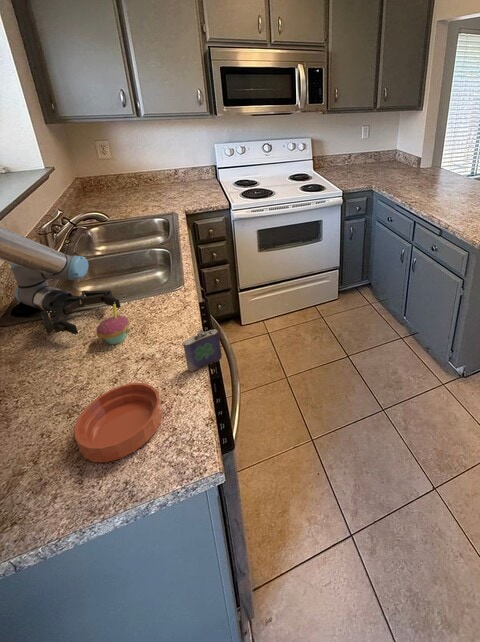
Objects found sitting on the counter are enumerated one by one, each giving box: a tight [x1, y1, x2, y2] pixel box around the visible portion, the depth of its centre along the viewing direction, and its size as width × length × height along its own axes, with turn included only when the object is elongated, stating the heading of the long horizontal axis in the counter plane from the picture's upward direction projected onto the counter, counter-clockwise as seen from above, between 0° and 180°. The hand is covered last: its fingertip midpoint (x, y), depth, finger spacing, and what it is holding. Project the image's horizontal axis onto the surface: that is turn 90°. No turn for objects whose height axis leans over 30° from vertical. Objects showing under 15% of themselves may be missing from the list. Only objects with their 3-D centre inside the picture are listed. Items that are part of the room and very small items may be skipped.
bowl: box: [74, 382, 163, 463], centre depth 78 cm, size 16×16×4 cm
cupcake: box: [96, 302, 131, 345], centre depth 105 cm, size 9×8×12 cm
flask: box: [182, 328, 223, 373], centre depth 95 cm, size 9×3×11 cm, turn 125°
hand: (98, 316), depth 107 cm, fingers open, 13 cm apart
